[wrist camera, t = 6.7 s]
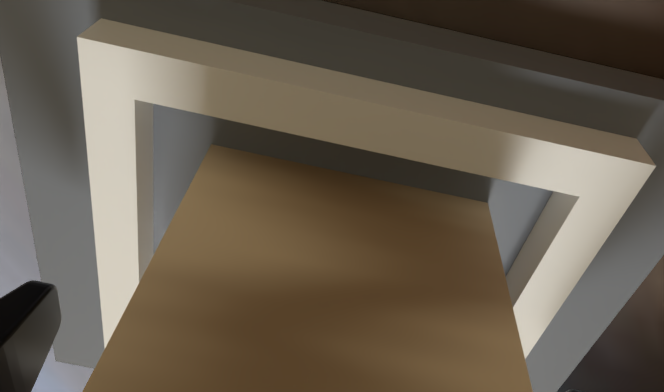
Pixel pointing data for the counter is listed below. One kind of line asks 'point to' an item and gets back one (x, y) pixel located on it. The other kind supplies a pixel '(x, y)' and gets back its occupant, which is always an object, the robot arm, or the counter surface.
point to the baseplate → (329, 145)
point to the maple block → (317, 290)
